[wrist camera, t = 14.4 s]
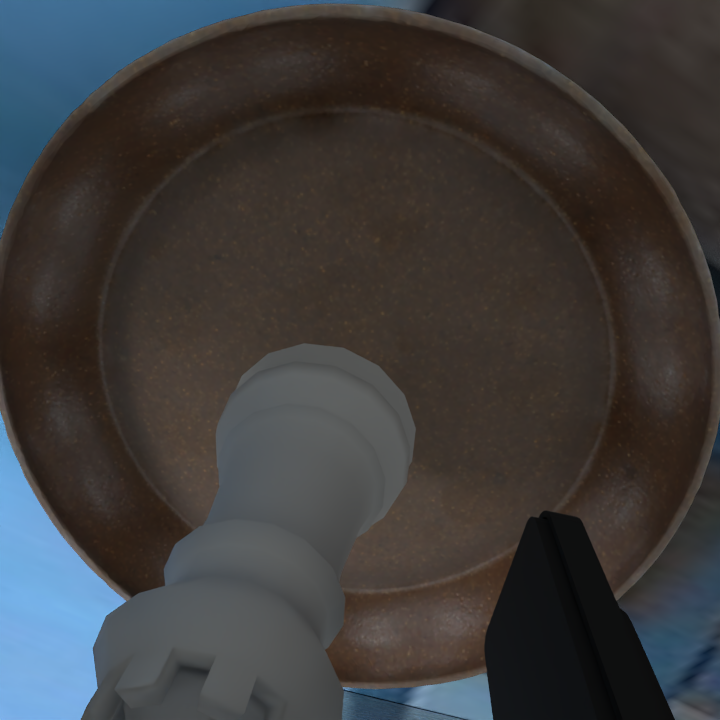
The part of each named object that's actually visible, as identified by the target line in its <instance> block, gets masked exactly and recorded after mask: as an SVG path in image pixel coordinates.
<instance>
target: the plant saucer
mask: <svg viewBox="0 0 720 720" xmlns="http://www.w3.org/2000/svg"><path fill="white" fill-rule="evenodd" d="M304 343H305V344H314V345H323V346H333V347H342V348H345V349H347V350H349V351H351V352H353V353H355V354H357V355H359V356H361V357H363V358H365V359H366V360H368V361H370V362H372V363H374V364H376V365H378V366H380V368H381V369H382V370H383V371H384V372H385V373H386V374H387V375H388V377H389V378H390V379H391V380H392V381H393V382H394V383H395V385H396V386H397V387H398V388H399V389H400V390H401V391H402V392H403V394H404V395H405V398H406V401H407V404H408V407H409V410H410V413H411V416H412V419H413V421H414V424H415V427H416V432H415V440H414V448H413V457H412V462H411V464H410V465H409V468H408V477H407V483H406V484H405V486H404V487H403V489H402V490H401V492H400V493H399V495H398V497H397V498H396V500H395V501H394V503H393V504H392V506H391V507H390V509H389V510H388V512H387V513H386V515H385V516H384V518H382V519H381V520H379V521H378V522H376V523H374V524H373V525H371V527H370V528H369V530H368V531H367V532H365V533H363V534H362V535H360V536H359V537H357V538H356V540H355V542H354V544H353V546H352V549H351V551H350V553H349V556H348V558H347V560H346V563H345V565H344V567H343V570H342V572H341V576H340V580H339V584H340V586H341V588H342V591H343V593H344V595H345V608H344V622H343V626H342V628H341V629H340V631H339V632H338V634H337V635H336V637H335V638H334V640H333V641H332V643H331V644H330V645H329V647H328V648H327V649H325V651H326V653H327V655H328V657H329V660H330V662H331V664H332V666H333V668H334V671H335V673H336V675H337V677H338V679H339V681H340V684H341V686H342V687H351V688H365V689H387V688H405V687H418V686H424V685H433V684H441V683H446V682H451V681H456V680H461V679H465V678H469V677H473V676H476V675H478V674H482V673H486V672H487V668H486V661H485V652H484V644H485V636H486V631H487V628H488V625H489V623H490V620H491V617H492V615H493V612H494V609H495V607H496V604H497V601H498V599H499V596H500V593H501V590H502V588H503V585H504V582H505V580H506V577H507V574H508V572H509V569H510V566H511V564H512V561H513V558H514V555H515V553H516V550H517V547H518V545H519V542H520V539H521V537H522V534H523V531H524V528H525V526H526V523H527V521H528V519H529V518H530V517H532V516H533V517H537V518H539V516H540V514H541V513H542V512H543V511H545V510H547V511H551V512H556V513H561V514H566V515H571V516H576V517H578V518H580V519H581V521H582V522H583V525H584V527H585V529H586V532H587V534H588V536H589V539H590V541H591V543H592V545H593V548H594V550H595V552H596V555H597V557H598V559H599V562H600V564H601V566H602V569H603V571H604V573H605V576H606V578H607V580H608V583H609V585H610V587H611V590H612V592H613V594H614V597H615V599H616V601H617V600H618V599H619V598H620V597H621V596H622V595H623V594H624V593H625V592H626V591H628V590H629V589H630V588H631V587H632V586H633V585H634V584H635V583H636V582H637V581H638V580H639V579H640V578H641V577H642V576H643V574H644V573H645V572H646V571H647V570H648V569H649V568H650V567H651V565H652V564H653V563H654V562H655V561H656V559H657V558H658V557H659V556H660V554H661V553H662V552H663V550H664V549H665V547H666V546H667V544H668V543H669V542H670V540H671V539H672V537H673V536H674V534H675V533H676V531H677V529H678V528H679V526H680V524H681V522H682V521H683V519H684V518H685V516H686V514H687V512H688V510H689V508H690V506H691V504H692V502H693V500H694V497H695V495H696V493H697V491H698V490H699V488H700V486H701V483H702V480H703V477H704V474H705V471H706V468H707V465H708V463H709V460H710V457H711V452H712V449H713V445H714V442H715V439H716V435H717V430H718V424H719V419H720V319H719V314H718V305H717V299H716V295H715V290H714V286H713V282H712V278H711V274H710V271H709V268H708V265H707V262H706V259H705V256H704V253H703V250H702V248H701V245H700V243H699V240H698V238H697V235H696V233H695V231H694V229H693V226H692V224H691V222H690V220H689V218H688V216H687V214H686V212H685V210H684V209H683V207H682V205H681V203H680V201H679V199H678V197H677V195H676V193H675V191H674V189H673V188H672V186H671V185H670V183H669V182H668V180H667V179H666V178H665V176H664V175H663V173H662V172H661V171H660V169H659V168H658V166H657V165H656V164H655V163H654V161H653V160H652V159H651V158H650V156H649V155H648V154H647V153H646V151H645V150H644V149H643V148H642V147H641V145H640V144H639V143H638V142H637V140H636V139H635V138H634V137H633V136H632V135H631V133H630V132H629V131H628V130H627V129H626V128H625V127H624V126H623V125H622V124H621V123H620V122H619V121H618V120H617V119H616V118H615V117H614V116H613V115H612V114H611V113H610V112H609V111H608V110H607V109H606V108H605V107H604V106H603V105H602V104H601V103H599V102H598V101H597V100H596V99H595V98H593V97H592V96H591V95H590V94H588V93H587V92H586V91H585V90H583V89H582V88H581V87H580V86H578V85H577V84H576V83H574V82H573V81H571V80H570V79H569V78H567V77H566V76H564V75H563V74H561V73H560V72H559V71H557V70H556V69H554V68H553V67H551V66H550V65H548V64H546V63H545V62H543V61H542V60H540V59H538V58H536V57H535V56H533V55H531V54H529V53H527V52H526V51H524V50H522V49H520V48H518V47H516V46H514V45H512V44H510V43H508V42H506V41H504V40H501V39H499V38H496V37H494V36H492V35H489V34H487V33H484V32H482V31H479V30H477V29H474V28H472V27H469V26H466V25H462V24H459V23H455V22H452V21H449V20H445V19H442V18H438V17H435V16H431V15H428V14H424V13H419V12H414V11H408V10H403V9H397V8H390V7H382V6H374V5H358V4H309V5H297V6H289V7H282V8H276V9H269V10H262V11H259V12H255V13H251V14H247V15H244V16H240V17H236V18H231V19H227V20H223V21H220V22H217V23H214V24H212V25H209V26H206V27H203V28H200V29H198V30H195V31H193V32H190V33H188V34H185V35H183V36H180V37H178V38H176V39H173V40H171V41H169V42H167V43H165V44H164V45H162V46H160V47H158V48H156V49H154V50H153V51H151V52H149V53H147V54H146V55H144V56H142V57H140V58H138V59H137V60H135V61H134V62H132V63H131V64H129V65H127V66H126V67H124V68H123V69H121V70H120V71H118V72H117V73H116V74H115V75H114V76H113V77H112V78H111V79H109V80H107V81H106V82H105V83H104V84H103V85H102V86H101V87H99V88H98V89H97V90H95V91H94V92H93V93H92V94H91V95H90V96H89V97H88V98H87V99H86V100H85V101H84V102H83V104H82V105H80V106H79V107H78V108H77V109H75V110H74V111H73V112H72V113H71V114H70V116H69V117H68V118H67V119H66V120H65V122H64V123H63V124H62V125H61V127H60V128H59V129H58V130H57V132H56V133H55V134H54V135H53V137H52V138H51V140H50V141H49V142H48V144H47V145H46V146H45V148H44V149H43V151H42V153H41V155H40V156H39V158H38V159H37V160H36V162H35V163H34V165H33V167H32V168H31V170H30V171H29V173H28V175H27V177H26V179H25V181H24V183H23V185H22V187H21V189H20V191H19V193H18V195H17V198H16V200H15V202H14V204H13V206H12V208H11V210H10V212H9V216H8V219H7V222H6V225H5V228H4V231H3V234H2V237H1V240H0V411H1V414H2V418H3V421H4V424H5V428H6V432H7V436H8V439H9V441H10V443H11V446H12V448H13V451H14V453H15V455H16V457H17V459H18V461H19V463H20V466H21V468H22V471H23V474H24V476H25V478H26V479H27V481H28V483H29V485H30V487H31V488H32V490H33V492H34V494H35V496H36V497H37V499H38V501H39V503H40V504H41V506H42V507H43V509H44V510H45V512H46V514H47V515H48V517H49V518H50V520H51V521H52V523H53V524H54V526H55V527H56V528H57V530H58V531H59V532H60V534H61V535H62V536H63V538H64V539H65V540H66V541H67V543H68V544H69V545H70V546H71V547H72V548H73V550H74V551H75V552H76V553H77V554H78V555H79V556H80V557H81V559H82V560H83V561H84V562H85V563H86V564H87V565H88V566H89V567H90V568H91V569H92V570H93V571H94V572H95V573H96V574H97V575H98V576H99V577H100V578H101V579H103V580H104V581H105V582H106V583H107V585H108V586H109V587H110V588H111V589H113V590H114V591H115V592H116V593H117V594H119V595H120V596H121V597H122V598H123V599H125V600H126V601H128V600H130V599H131V598H132V597H134V596H135V595H137V594H138V593H141V592H145V591H148V590H152V589H155V588H159V587H162V586H165V577H164V568H165V565H166V563H167V561H168V559H169V557H170V554H171V552H172V550H173V548H174V546H175V544H176V543H177V542H179V541H180V540H181V539H183V538H184V537H186V536H187V535H188V534H190V533H191V532H192V531H194V530H195V529H197V528H198V527H199V526H203V524H204V523H205V521H206V520H207V518H208V515H209V513H210V510H211V508H212V505H213V502H214V500H215V497H216V495H217V492H218V489H219V487H220V486H219V471H218V468H217V455H216V430H217V425H218V422H219V420H220V418H221V415H222V413H223V411H224V409H225V406H226V404H227V402H228V400H229V397H230V395H231V393H233V392H234V391H235V390H236V388H237V385H238V383H239V381H240V379H241V376H242V375H243V374H244V373H246V372H247V371H248V370H249V369H250V368H252V367H253V366H254V365H255V364H256V363H258V362H259V361H260V360H261V359H262V358H263V357H265V356H266V355H267V354H268V353H272V352H275V351H279V350H282V349H286V348H289V347H293V346H297V345H300V344H304Z"/></svg>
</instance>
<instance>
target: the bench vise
mask: <svg viewBox="0 0 720 720" xmlns="http://www.w3.org/2000/svg"><path fill="white" fill-rule="evenodd" d="M342 720H463V719H459V718H455V717H450V716H446V715H442V714H438V713H434V712H430V711H426V710H421V709H417V708H413V707H409V706H405V705H401V704H397V703H392V702H388V701H384V700H380V699H376V698H372V697H368V696H363V695H359V694H355V693H351V692H347V691H344V698H343V711H342Z"/></svg>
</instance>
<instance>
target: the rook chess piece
mask: <svg viewBox="0 0 720 720" xmlns="http://www.w3.org/2000/svg"><path fill="white" fill-rule="evenodd" d="M415 432H416V427H415V424H414V421H413V419H412V416H411V413H410V410H409V407H408V404H407V401H406V398H405V395H404V394H403V392H402V391H401V390H400V389H399V388H398V387H397V386H396V385H395V383H394V382H393V381H392V380H391V379H390V378H389V377H388V375H387V374H386V373H385V372H384V371H383V370H382V369H381V368H380V366H378V365H376V364H374V363H372V362H370V361H368V360H366V359H365V358H363V357H361V356H359V355H357V354H355V353H353V352H351V351H349V350H347V349H345V348H342V347H333V346H323V345H314V344H305V343H304V344H300V345H297V346H293V347H289V348H286V349H282V350H279V351H275V352H272V353H268V354H267V355H266V356H265V357H263V358H262V359H261V360H260V361H259V362H258V363H256V364H255V365H254V366H253V367H252V368H250V369H249V370H248V371H247V372H246V373H244V374H243V375H242V376H241V379H240V381H239V383H238V385H237V388H236V390H235V391H234V392H233V393H231V395H230V397H229V400H228V402H227V404H226V406H225V409H224V411H223V413H222V415H221V418H220V420H219V422H218V425H217V430H216V455H217V468H218V471H219V486H220V487H219V489H218V492H217V495H216V497H215V500H214V502H213V505H212V508H211V510H210V513H209V515H208V518H207V520H206V521H205V523H204V524H203V526H199V527H198V528H197V529H195V530H194V531H192V532H191V533H190V534H188V535H187V536H186V537H184V538H183V539H181V540H180V541H179V542H177V543H176V544H175V546H174V548H173V550H172V552H171V554H170V557H169V559H168V561H167V563H166V565H165V568H164V577H165V586H162V587H159V588H155V589H152V590H148V591H145V592H141V593H138V594H137V595H135V596H134V597H132V598H131V599H130V600H128V601H127V602H125V603H124V604H123V605H121V606H120V607H118V608H117V609H115V610H114V611H113V612H111V613H110V614H108V615H107V616H106V618H105V620H104V623H103V625H102V627H101V630H100V632H99V635H98V637H97V639H96V642H95V644H94V647H93V654H94V662H95V670H96V678H97V686H98V689H97V691H96V692H95V694H94V696H93V697H92V699H91V700H90V702H89V704H88V705H87V707H86V709H85V711H84V714H83V716H82V718H81V720H342V711H343V698H344V690H343V688H342V686H341V684H340V681H339V679H338V677H337V675H336V673H335V671H334V668H333V666H332V664H331V662H330V660H329V657H328V655H327V653H326V651H325V649H327V648H328V647H329V645H330V644H331V643H332V641H333V640H334V638H335V637H336V635H337V634H338V632H339V631H340V629H341V628H342V626H343V622H344V608H345V595H344V593H343V591H342V588H341V586H340V584H339V580H340V576H341V572H342V570H343V567H344V565H345V563H346V560H347V558H348V556H349V553H350V551H351V549H352V546H353V544H354V542H355V540H356V538H357V537H359V536H360V535H362V534H363V533H365V532H367V531H368V530H369V528H370V527H371V525H373V524H374V523H376V522H378V521H379V520H381V519H382V518H384V516H385V515H386V513H387V512H388V510H389V509H390V507H391V506H392V504H393V503H394V501H395V500H396V498H397V497H398V495H399V493H400V492H401V490H402V489H403V487H404V486H405V484H406V483H407V477H408V468H409V465H410V464H411V462H412V457H413V448H414V440H415Z"/></svg>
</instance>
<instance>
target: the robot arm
mask: <svg viewBox="0 0 720 720" xmlns="http://www.w3.org/2000/svg"><path fill="white" fill-rule="evenodd" d="M484 652H485V661H486V668H487V676H488V683H489V691H490V698H491V706H492V713H493V720H675V719H674V717H673V714H672V712H671V710H670V708H669V705H668V703H667V701H666V699H665V696H664V694H663V692H662V690H661V687H660V685H659V683H658V681H657V678H656V676H655V674H654V671H653V669H652V667H651V665H650V662H649V660H648V658H647V656H646V653H645V651H644V649H643V647H642V644H641V642H640V640H639V638H638V635H637V633H636V631H635V629H634V626H633V624H632V622H631V620H630V619H629V617H628V615H627V614H626V613H625V612H624V611H623V610H621V609H620V608H619V606H618V604H617V601H616V599H615V597H614V594H613V592H612V590H611V587H610V585H609V583H608V580H607V578H606V576H605V573H604V571H603V569H602V566H601V564H600V562H599V559H598V557H597V555H596V552H595V550H594V548H593V545H592V543H591V541H590V539H589V536H588V534H587V532H586V529H585V527H584V525H583V522H582V521H581V519H580V518H578V517H576V516H571V515H566V514H561V513H556V512H551V511H547V510H545V511H543V512H542V513H541V514H540V516H539V518H537V517H533V516H532V517H530V518H529V519H528V521H527V523H526V526H525V528H524V531H523V534H522V537H521V539H520V542H519V545H518V547H517V550H516V553H515V555H514V558H513V561H512V564H511V566H510V569H509V572H508V574H507V577H506V580H505V582H504V585H503V588H502V590H501V593H500V596H499V599H498V601H497V604H496V607H495V609H494V612H493V615H492V617H491V620H490V623H489V625H488V628H487V631H486V636H485V644H484Z"/></svg>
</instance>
